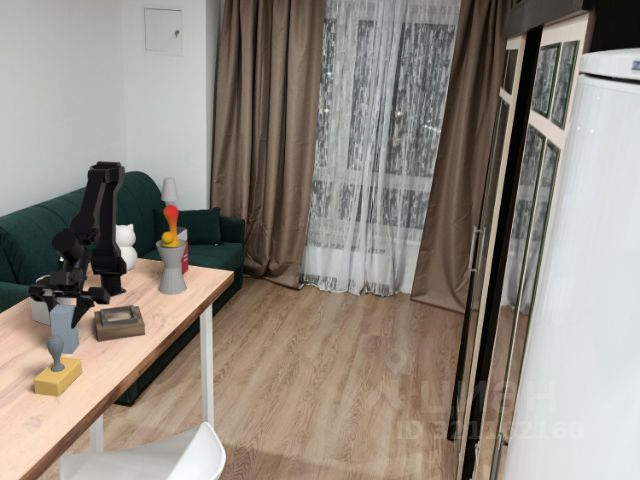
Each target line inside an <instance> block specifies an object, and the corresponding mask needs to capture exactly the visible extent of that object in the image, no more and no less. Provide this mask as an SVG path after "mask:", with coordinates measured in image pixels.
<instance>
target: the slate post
mask: <svg viewBox="0 0 640 480" xmlns="http://www.w3.org/2000/svg"><path fill="white" fill-rule="evenodd" d="M75 308H76V304H71V305H59V304H57V305H56V306H55V307H54V308H53V309H52V310H51V312H50V322H51V326H50V329H51V330H50V331H51V336H52V335H58V336H60V337H61V338H62V340H63V342H64V347H63V351H62V354H64V355H65V354H69V355H72V354H74V352H75V351H76V350H77V349H78V347H79V345H80V336H79V329H78V324H77V325H76V326H75V328H74V329H72V328H71V323H72V318H73V315H74V311H75Z"/></svg>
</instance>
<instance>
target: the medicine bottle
mask: <svg viewBox="0 0 640 480" xmlns="http://www.w3.org/2000/svg"><path fill="white" fill-rule="evenodd" d="M50 278H51V274H48V275H43V276H41V277H39V278H37V279H36V281H35V284H39V285H46V286H47V287H48V288H49V289H51V290H58V288H56V287H55V286H54V285H51V284H50ZM29 301H30V307H31V308H30V309H31V316H32V317H31V318H32V321H34V320H35V321H34V322H37V321H38V323H40V322H41V324H43V323H44V325H46V324H47V326H49V325H50V319H49V312H48V307H47V304H46V303H45V302H36V301H34V300H33V299H32V298H30V297H29ZM57 302H58V303H60V305H72V304H71V298H58V299H57Z"/></svg>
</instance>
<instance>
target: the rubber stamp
mask: <svg viewBox="0 0 640 480" xmlns="http://www.w3.org/2000/svg"><path fill="white" fill-rule="evenodd" d="M63 347H64V342H63V340H62V338H61V337H60V336H58V335H52V334H51V335H50V336H49V337H48V339H47V340H46V348H47V351H48V353H49V354H50V356H51V358H52V359H53V362H51V363H50V364H49V365H48V366H47V367H46V368H45V369H44V370H43V371H42V372H40V373H39V374H38V375H36V376H35V378H34V379H33V383H34V384H33V385H34V386H33V387H34V392H35V394H36V395H44V396H49V397H60V396H61V395H62V393H64V392H65V390H67V389H68V388H69V387H70V386H71V384H73V382H74V381H75V380H76V379H77V378H79V376H81V374H82V373H83V366H82V365H83V364H82V360H81V359H78V358H74V357H72V358H71V357H63V356H62V354H63V353H62V351H63Z"/></svg>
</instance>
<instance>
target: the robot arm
mask: <svg viewBox="0 0 640 480" xmlns="http://www.w3.org/2000/svg"><path fill="white" fill-rule="evenodd" d="M86 176H87V181H86V185H85V189H84V193H83V196H82V200H81V203H80V207H79V210H78V213H77V214H75V215H74V216H73V217H72V218H71V219H70V222H69V224H68V227H63V228H62V230H61V231H59V232H58V233H56V234H55V235H54V237H52V239H51V246H52V249H53V250H54V251H56V253H57V254H58V255H59V256H60V257H61V259H62V260H64V263H63V266H61V267H60V269H59V271H54V270H53V271H50V275H51V278H50V284H51V285H54V286H55V287H56V288H58V290H51V289H49V288H48V287H47V286H46V285H39V284H36V283H35V284H34V283H32V284H30V285H29V286H28V287H27V290H26V295H27V296H28V298H29V299H30V298H32V299H33V300H34V301H36V302H45V303H46V304H47V307H48V312H49V319H50V312H51V310H52V309H53V308H54V307H55V306H56V305H57V304H59V305H60V303H58V302H57V299H58V298H70V299H75V305H76V308H75V311H74V315H73V318H72V323H71V328H72V329H74V328H75V326H76V325H77V326H78V323H79V322H80V321H81V319H82V318H83V317H84V316H85V315H86V313H87V312H88V311H89V310H90V309H91V308H95V306H96V305H95V303H96V304H97V305H101V306H102V305H103V306H104V305H107V306H108V305H110V302H111V297H114V296H117V295H121V294H123V293H126V292H127V289H125V288H124V287H122V278H121V277H123V275H127V273H128V271H126V269H127V264H126V262H125V261H124V259H123V258H122V257H121V249H120V248H119V246H118V244H117V243H116V225H117V206H118V205H117V200H118V197H117V196H118V191H119V190H120V189H121V187H122V186H123V185H124V178H125V176H126V168H125V166H123V165H122V163H121V162H120V161H103V160H99V161H97V162H96V164H93V165H90V166H89V170H88V171H87V174H86ZM98 218H99V219H98ZM98 221H99V222H98ZM94 245H95V247H93V248H92V249H91V251H90V250H89V248H88V247H86V246H94ZM89 264H90V267H91V271H92V275H93V276H99V278H100V279H99V280H100V286H89V287H88V289H87V290H84V288H85V282H86V281H87V280H88V275H87V273H88V269H89ZM50 327H51V322H50Z"/></svg>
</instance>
